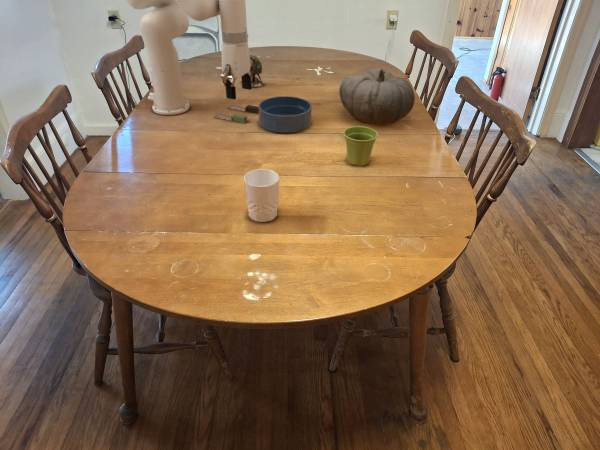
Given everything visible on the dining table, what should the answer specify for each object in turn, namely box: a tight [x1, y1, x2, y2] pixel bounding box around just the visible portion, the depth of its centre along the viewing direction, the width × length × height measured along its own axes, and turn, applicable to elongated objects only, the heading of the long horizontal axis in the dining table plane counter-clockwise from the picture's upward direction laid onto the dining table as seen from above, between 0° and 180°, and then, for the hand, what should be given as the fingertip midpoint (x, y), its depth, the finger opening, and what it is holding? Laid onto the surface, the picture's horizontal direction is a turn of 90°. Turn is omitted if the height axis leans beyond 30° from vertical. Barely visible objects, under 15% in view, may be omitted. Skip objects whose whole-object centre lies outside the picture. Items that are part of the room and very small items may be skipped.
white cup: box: [243, 168, 280, 223], centre depth 106 cm, size 8×8×10 cm
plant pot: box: [342, 125, 379, 167], centre depth 128 cm, size 9×9×9 cm
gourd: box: [338, 68, 416, 126], centre depth 152 cm, size 25×25×17 cm
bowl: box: [257, 95, 313, 134], centre depth 150 cm, size 17×17×6 cm
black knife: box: [229, 104, 259, 115], centre depth 160 cm, size 11×2×2 cm, turn 66°
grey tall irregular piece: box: [240, 33, 266, 88], centre depth 175 cm, size 8×11×20 cm
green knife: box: [215, 113, 248, 124], centre depth 153 cm, size 11×2×2 cm, turn 66°
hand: (239, 93), depth 147 cm, fingers open, 9 cm apart
